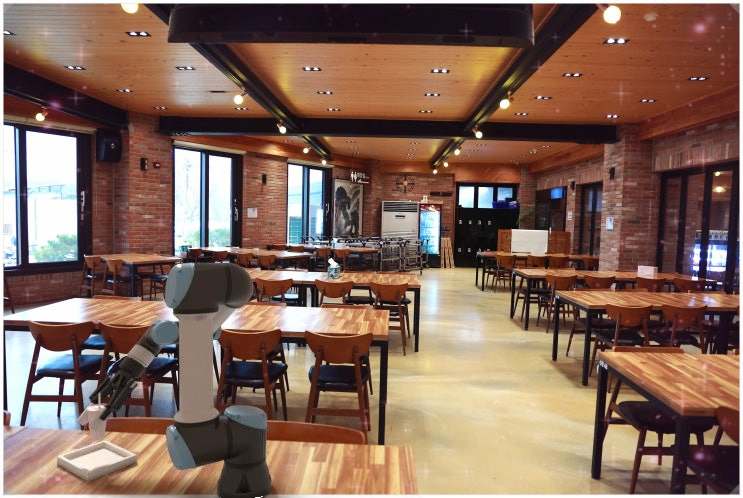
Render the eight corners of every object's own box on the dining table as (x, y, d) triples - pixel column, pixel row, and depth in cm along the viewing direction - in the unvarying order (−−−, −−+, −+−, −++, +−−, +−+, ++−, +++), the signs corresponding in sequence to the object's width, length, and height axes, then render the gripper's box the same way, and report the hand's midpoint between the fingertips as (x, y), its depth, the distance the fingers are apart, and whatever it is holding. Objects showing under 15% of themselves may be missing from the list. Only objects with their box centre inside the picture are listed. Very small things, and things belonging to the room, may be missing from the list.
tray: (136, 462, 160) (136, 454, 160) (88, 481, 148) (88, 473, 147) (105, 447, 170) (105, 440, 170) (57, 463, 157) (57, 456, 157)
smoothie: (99, 443, 155) (99, 397, 154) (80, 440, 156) (81, 395, 156) (113, 434, 161) (114, 391, 161) (96, 432, 163) (96, 389, 162)
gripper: (161, 373, 166) (111, 440, 153) (127, 363, 176) (78, 424, 163) (146, 360, 161) (94, 428, 148) (112, 350, 171) (60, 412, 159)
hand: (85, 426), depth 156 cm, fingers closed on smoothie, 6 cm apart
